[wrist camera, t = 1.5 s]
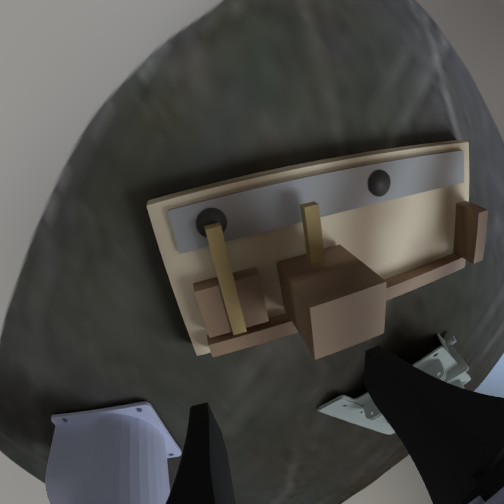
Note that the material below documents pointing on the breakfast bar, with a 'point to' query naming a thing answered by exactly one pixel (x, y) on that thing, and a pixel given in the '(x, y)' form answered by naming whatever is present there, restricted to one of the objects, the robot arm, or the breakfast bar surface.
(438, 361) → the metal bracket
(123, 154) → the breakfast bar surface
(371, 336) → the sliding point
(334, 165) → the gauge board
